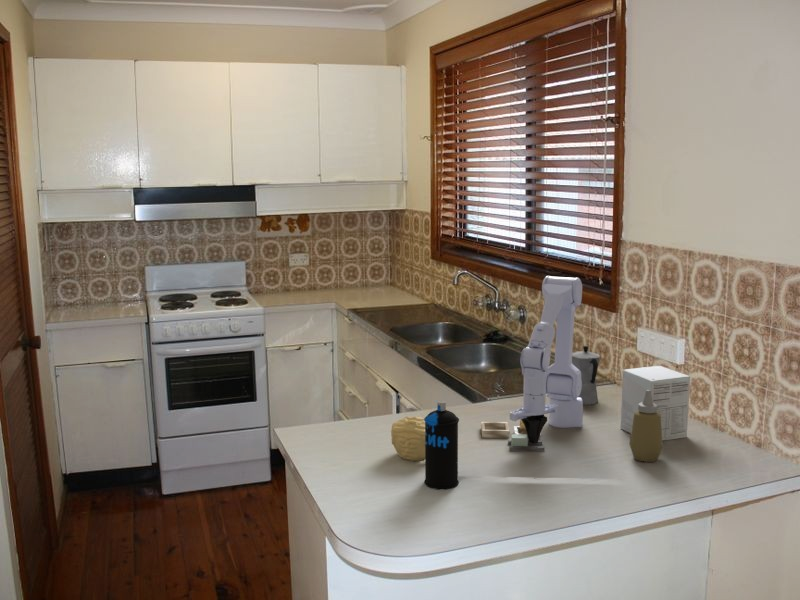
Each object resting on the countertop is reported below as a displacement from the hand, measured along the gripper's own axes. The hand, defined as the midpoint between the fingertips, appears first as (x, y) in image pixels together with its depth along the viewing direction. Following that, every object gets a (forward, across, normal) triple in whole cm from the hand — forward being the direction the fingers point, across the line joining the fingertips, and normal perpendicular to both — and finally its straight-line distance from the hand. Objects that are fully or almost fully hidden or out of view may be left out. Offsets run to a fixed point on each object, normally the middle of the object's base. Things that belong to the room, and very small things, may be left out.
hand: (533, 442), depth 206 cm
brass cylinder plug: (+1, -4, -7) cm, 8 cm away
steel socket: (+1, -4, -7) cm, 8 cm away
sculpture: (+3, +29, -13) cm, 31 cm away
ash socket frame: (+1, +2, -14) cm, 15 cm away
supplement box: (+3, -38, +6) cm, 39 cm away
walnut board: (+2, +1, -8) cm, 8 cm away
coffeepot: (+3, -42, -26) cm, 50 cm away
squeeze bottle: (+3, -21, +19) cm, 28 cm away
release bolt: (+1, +3, -2) cm, 4 cm away
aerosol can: (+3, +32, +5) cm, 33 cm away
